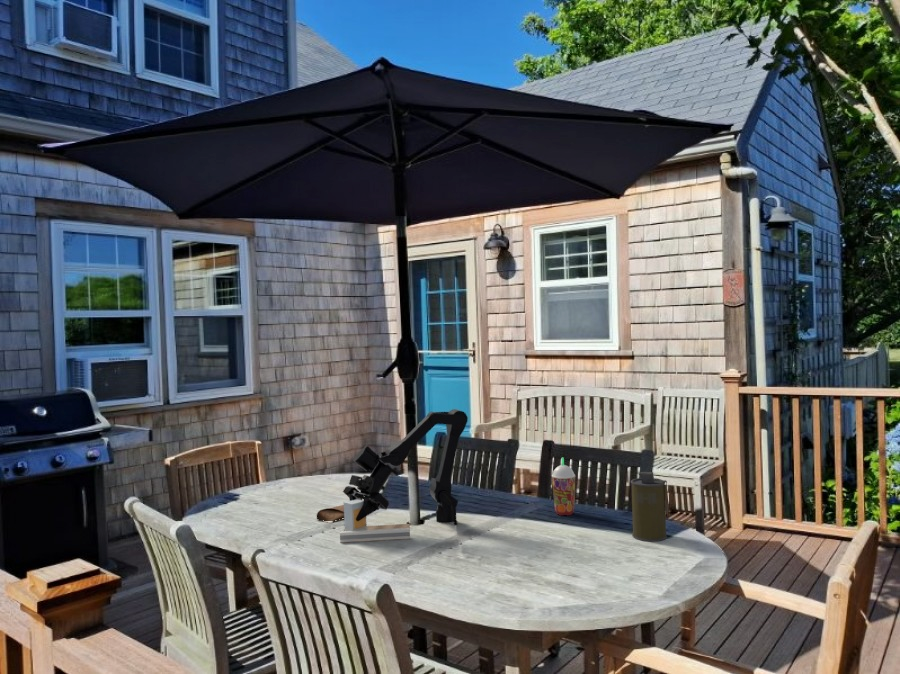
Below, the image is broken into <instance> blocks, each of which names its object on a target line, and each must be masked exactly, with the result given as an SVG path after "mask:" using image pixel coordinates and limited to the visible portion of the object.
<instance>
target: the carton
mask: <svg viewBox="0 0 900 674" xmlns="http://www.w3.org/2000/svg"><path fill="white" fill-rule="evenodd" d="M363 504H364V499H362V500H359V499H356V500H352V501H350V500H348V501H343V505H344V519H343V520H344V529H345V531H360V530H367V526H368V525H367V516H366V517H364V518H363V519H361V520H360V521H356V517H357V515H358V513H359V512H360V510H361V508H362V506H363Z"/></svg>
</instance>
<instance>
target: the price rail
mask: <svg viewBox="0 0 900 674" xmlns="http://www.w3.org/2000/svg"><path fill="white" fill-rule="evenodd" d="M410 528H411V527H410ZM410 528H397V529H378V530H360V531H344V530H342V531H340V532H339V541H340V542H353V543H356V542H355V541H371V542H374V541H373V540H389V541H393V540H392V539H407V540H410V539H411V538H410V537H411V531H410V530H411V529H410ZM340 542H339V543H340Z"/></svg>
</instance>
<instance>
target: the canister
mask: <svg viewBox="0 0 900 674" xmlns="http://www.w3.org/2000/svg"><path fill="white" fill-rule="evenodd" d="M638 475H639V476H640V477H639V478H638V477H637V478H633V479H631V480H630V483H631V508H632V509H631V511H632V537H633V538H634V539H635V540H638V541H644V542H660V541H664V540H666V539H667V537H668V535H667V525H666V523H667V522H666V519H667V518H668V516H669V510H668V508H669V506H668V499H666V493H668V481H667V479H666V480H665V479H660V478H655V476H654V472H653V471H648V472H647V471H640V472H639V473H638ZM665 484H666V485H665ZM665 486H666V487H665ZM665 489H666V490H665ZM665 491H666V492H665ZM666 514H667V515H666ZM666 517H667V518H666Z"/></svg>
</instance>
